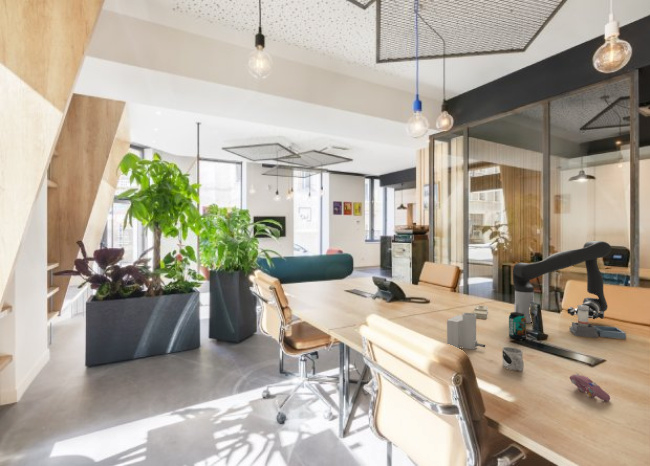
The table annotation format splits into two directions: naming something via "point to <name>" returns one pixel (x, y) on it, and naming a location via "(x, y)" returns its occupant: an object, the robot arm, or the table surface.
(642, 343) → the table surface
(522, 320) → the beverage can
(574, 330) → the block
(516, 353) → the mug
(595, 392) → the video game controller
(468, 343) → the grey stepped block
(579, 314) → the cylinder
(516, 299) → the robot arm
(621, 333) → the tray
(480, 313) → the electrical outlet
